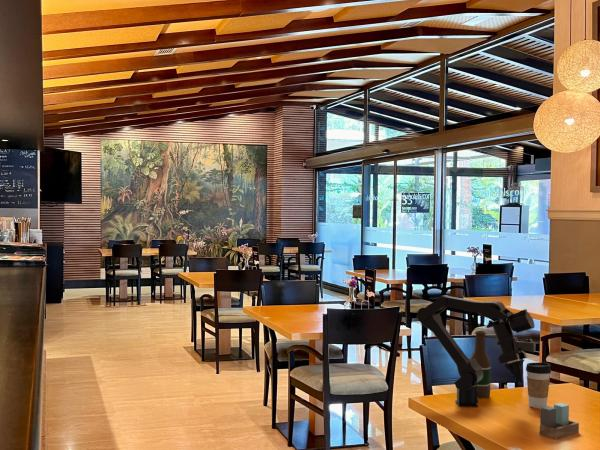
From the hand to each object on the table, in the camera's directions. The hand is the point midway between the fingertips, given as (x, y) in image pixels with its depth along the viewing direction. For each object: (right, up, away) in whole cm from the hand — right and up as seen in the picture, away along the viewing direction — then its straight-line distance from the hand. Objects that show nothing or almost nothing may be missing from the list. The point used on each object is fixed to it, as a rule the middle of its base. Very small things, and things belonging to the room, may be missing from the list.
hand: (521, 382), depth 223 cm
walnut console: (+6, -11, -18) cm, 22 cm away
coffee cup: (+10, -11, +12) cm, 19 cm away
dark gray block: (+2, -11, -19) cm, 22 cm away
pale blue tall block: (+7, -11, -15) cm, 20 cm away
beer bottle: (-8, -11, +25) cm, 28 cm away
